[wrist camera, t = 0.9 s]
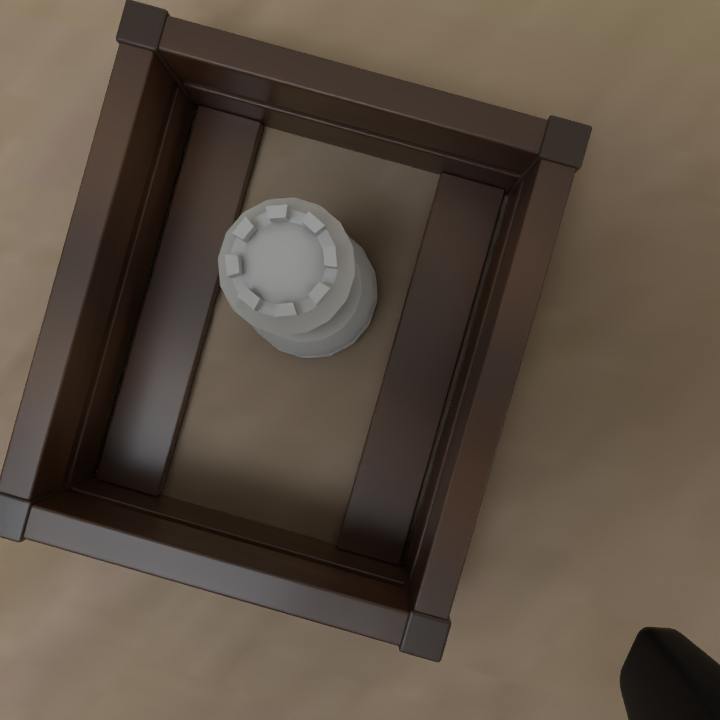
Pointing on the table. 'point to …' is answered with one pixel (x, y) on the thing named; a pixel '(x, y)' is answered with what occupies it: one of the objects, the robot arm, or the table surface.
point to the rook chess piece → (297, 277)
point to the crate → (196, 301)
